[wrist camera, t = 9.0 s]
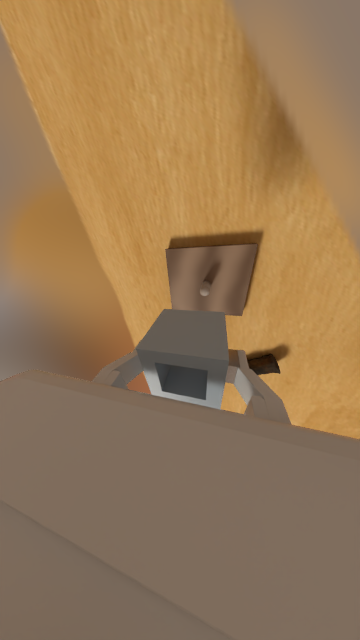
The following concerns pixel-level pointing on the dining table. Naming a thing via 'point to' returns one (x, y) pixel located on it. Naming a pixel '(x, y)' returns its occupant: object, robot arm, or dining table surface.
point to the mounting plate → (210, 277)
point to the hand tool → (264, 365)
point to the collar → (186, 356)
